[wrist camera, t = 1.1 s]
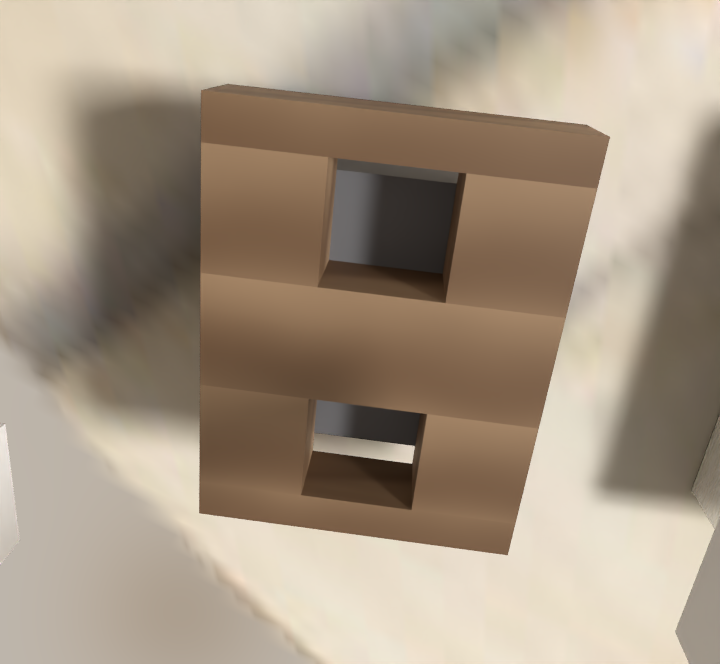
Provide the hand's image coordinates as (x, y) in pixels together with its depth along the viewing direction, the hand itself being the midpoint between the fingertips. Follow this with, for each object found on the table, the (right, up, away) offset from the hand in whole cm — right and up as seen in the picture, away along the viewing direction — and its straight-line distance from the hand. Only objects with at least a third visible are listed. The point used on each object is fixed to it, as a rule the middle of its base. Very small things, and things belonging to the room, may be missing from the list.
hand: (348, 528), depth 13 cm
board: (+1, +4, +9) cm, 10 cm away
